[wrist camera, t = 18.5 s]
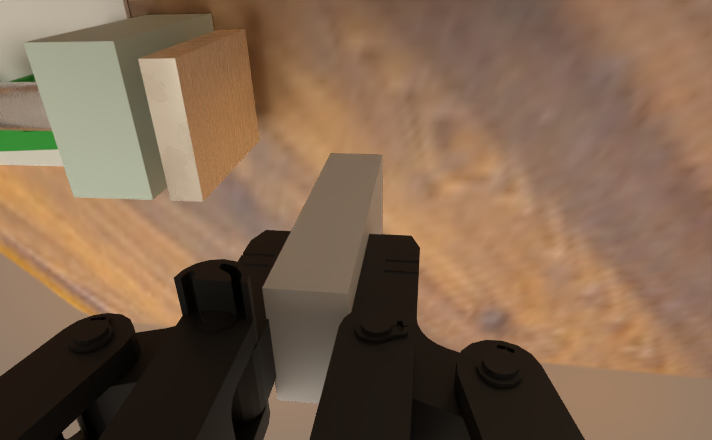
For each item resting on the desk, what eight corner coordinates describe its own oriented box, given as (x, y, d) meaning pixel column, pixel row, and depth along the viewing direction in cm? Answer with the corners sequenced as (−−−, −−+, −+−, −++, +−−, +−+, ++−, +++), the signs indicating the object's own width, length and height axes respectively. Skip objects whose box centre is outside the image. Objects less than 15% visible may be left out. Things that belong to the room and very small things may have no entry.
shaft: (-29, 33, 28) (-183, 61, 21) (245, 29, 26) (174, 58, 19) (9, 136, 31) (-115, 191, 24) (259, 140, 29) (203, 201, 22)
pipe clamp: (102, 65, 31) (53, 82, 27) (121, 124, 32) (77, 149, 28) (-55, 76, 32) (-124, 93, 28) (-30, 131, 34) (-91, 156, 30)
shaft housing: (146, 14, 29) (23, 42, 20) (211, 13, 29) (113, 41, 20) (170, 130, 32) (74, 197, 24) (229, 131, 32) (153, 199, 23)
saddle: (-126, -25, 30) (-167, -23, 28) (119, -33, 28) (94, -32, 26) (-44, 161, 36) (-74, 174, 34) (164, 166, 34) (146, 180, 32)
